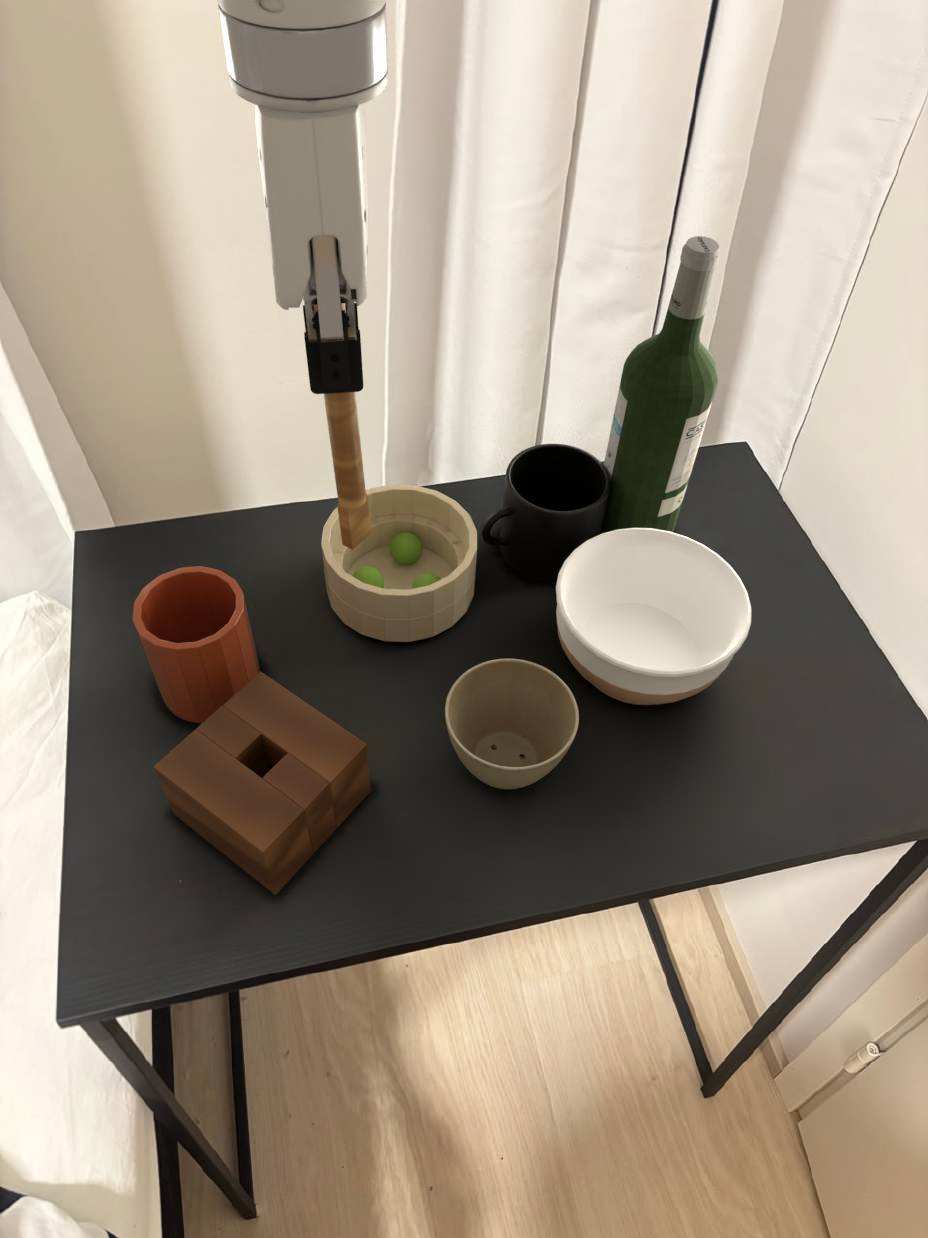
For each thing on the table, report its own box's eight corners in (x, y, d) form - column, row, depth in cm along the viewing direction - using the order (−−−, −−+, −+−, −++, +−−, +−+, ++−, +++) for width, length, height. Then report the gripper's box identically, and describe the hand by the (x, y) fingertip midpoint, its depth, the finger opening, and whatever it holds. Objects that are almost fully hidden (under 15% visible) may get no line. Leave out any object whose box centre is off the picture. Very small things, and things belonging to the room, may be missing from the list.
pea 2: (408, 576, 85) (408, 553, 83) (383, 561, 86) (382, 538, 84) (428, 557, 87) (428, 535, 85) (403, 543, 88) (403, 520, 86)
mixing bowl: (412, 672, 79) (412, 620, 74) (297, 599, 84) (289, 545, 79) (501, 581, 86) (507, 528, 81) (390, 518, 91) (389, 464, 86)
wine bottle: (676, 562, 89) (766, 274, 66) (594, 560, 89) (656, 270, 66) (664, 505, 94) (745, 219, 71) (587, 503, 94) (643, 215, 71)
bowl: (759, 708, 78) (788, 651, 72) (584, 750, 75) (598, 694, 69) (680, 572, 88) (700, 512, 82) (521, 604, 85) (529, 544, 79)
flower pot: (588, 793, 73) (602, 745, 67) (470, 834, 70) (475, 787, 64) (535, 695, 78) (544, 643, 73) (425, 729, 76) (425, 678, 70)
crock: (209, 741, 74) (185, 666, 67) (140, 689, 77) (109, 612, 69) (280, 676, 79) (265, 599, 71) (212, 629, 82) (191, 551, 74)
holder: (275, 895, 66) (262, 852, 61) (173, 814, 70) (153, 767, 65) (370, 791, 72) (367, 744, 67) (271, 721, 76) (260, 670, 70)
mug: (459, 534, 90) (462, 463, 83) (567, 503, 94) (579, 433, 87) (500, 602, 85) (507, 533, 78) (613, 567, 88) (630, 497, 81)
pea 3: (431, 618, 82) (431, 596, 80) (405, 603, 83) (404, 580, 81) (451, 598, 84) (452, 576, 82) (425, 583, 85) (425, 561, 83)
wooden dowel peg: (357, 553, 68) (328, 310, 52) (337, 541, 68) (301, 298, 53) (376, 536, 69) (353, 292, 53) (356, 524, 69) (327, 281, 54)
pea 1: (369, 612, 82) (368, 589, 80) (344, 596, 84) (342, 573, 81) (391, 592, 84) (390, 569, 82) (365, 577, 85) (364, 554, 83)
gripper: (228, -12, 48) (274, 307, 62) (219, 121, 38) (276, 465, 52) (374, -13, 48) (386, 302, 63) (403, 117, 39) (409, 457, 53)
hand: (336, 374), depth 57 cm, fingers closed on wooden dowel peg, 2 cm apart
